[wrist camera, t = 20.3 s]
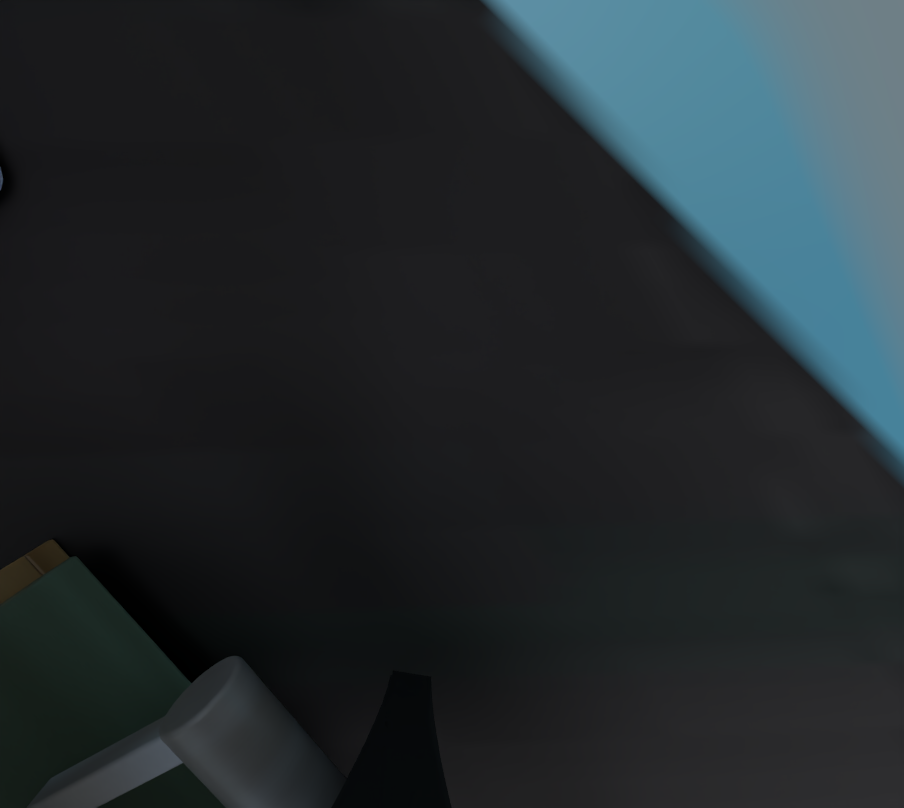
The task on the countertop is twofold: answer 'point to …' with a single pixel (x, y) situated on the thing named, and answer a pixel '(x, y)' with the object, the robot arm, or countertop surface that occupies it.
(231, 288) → the countertop surface
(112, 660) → the drawer
